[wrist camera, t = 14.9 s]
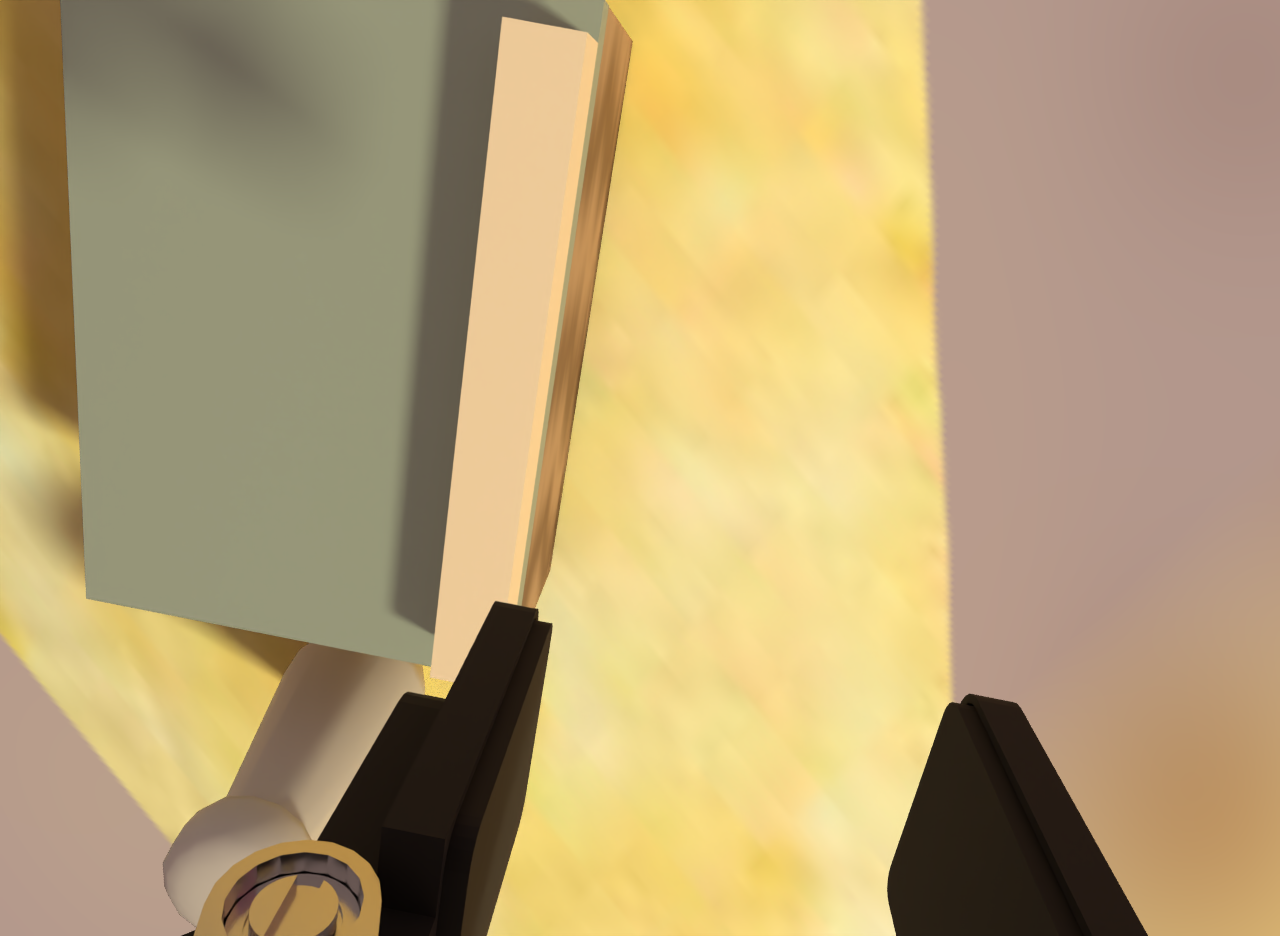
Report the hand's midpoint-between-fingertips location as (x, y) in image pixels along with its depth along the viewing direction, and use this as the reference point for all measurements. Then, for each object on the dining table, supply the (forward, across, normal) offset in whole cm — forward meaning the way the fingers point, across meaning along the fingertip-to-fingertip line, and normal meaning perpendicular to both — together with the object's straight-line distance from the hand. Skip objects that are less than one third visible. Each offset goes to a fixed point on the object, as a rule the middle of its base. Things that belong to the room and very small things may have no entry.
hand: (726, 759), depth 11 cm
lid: (+16, +12, 0) cm, 20 cm away
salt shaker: (+24, +12, +16) cm, 31 cm away
